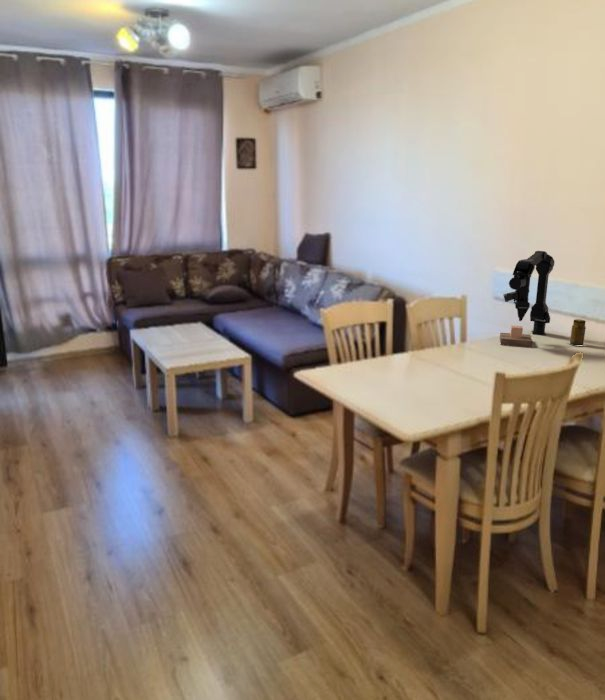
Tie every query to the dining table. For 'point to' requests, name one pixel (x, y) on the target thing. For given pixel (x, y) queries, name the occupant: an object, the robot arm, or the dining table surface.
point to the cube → (516, 331)
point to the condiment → (578, 332)
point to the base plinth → (515, 340)
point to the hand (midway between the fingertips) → (519, 319)
